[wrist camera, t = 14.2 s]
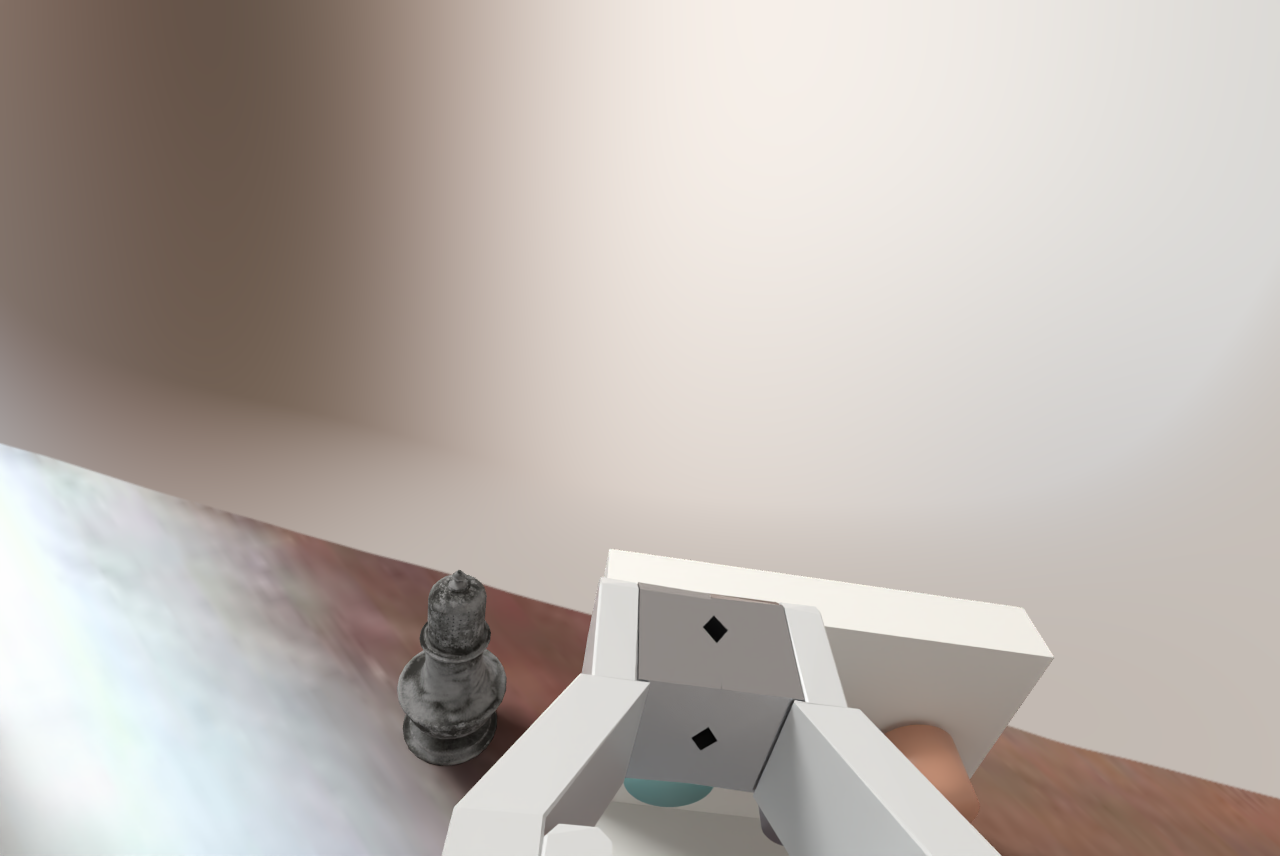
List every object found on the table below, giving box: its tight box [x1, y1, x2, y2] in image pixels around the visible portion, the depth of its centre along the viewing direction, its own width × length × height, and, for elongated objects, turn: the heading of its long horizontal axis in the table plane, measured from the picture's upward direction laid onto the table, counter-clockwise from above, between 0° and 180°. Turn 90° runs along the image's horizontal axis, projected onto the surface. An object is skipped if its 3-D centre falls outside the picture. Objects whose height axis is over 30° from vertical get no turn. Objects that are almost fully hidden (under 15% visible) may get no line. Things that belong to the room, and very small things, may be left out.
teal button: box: [623, 778, 713, 807], centre depth 32 cm, size 4×3×4 cm
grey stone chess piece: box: [397, 570, 506, 765], centre depth 38 cm, size 6×6×12 cm
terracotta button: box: [884, 725, 980, 823], centre depth 32 cm, size 4×3×4 cm
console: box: [594, 549, 1054, 856], centre depth 34 cm, size 20×6×16 cm, turn 89°
